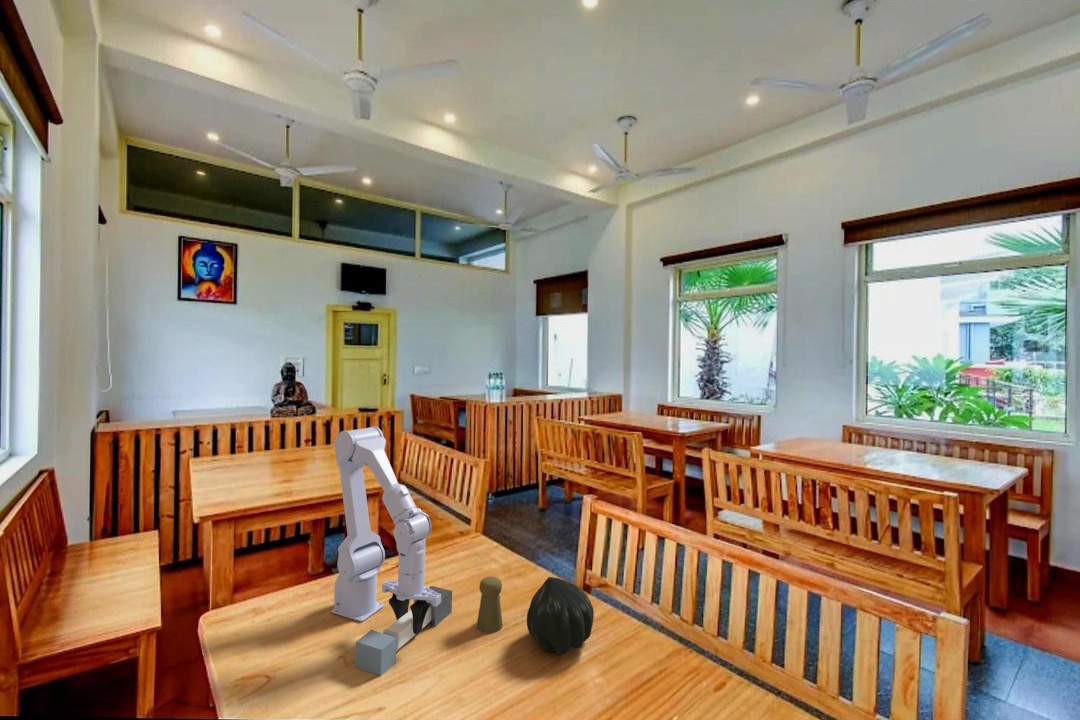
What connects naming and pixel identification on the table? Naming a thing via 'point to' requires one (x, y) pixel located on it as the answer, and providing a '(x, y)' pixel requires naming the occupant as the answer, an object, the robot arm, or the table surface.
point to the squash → (560, 616)
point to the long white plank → (406, 627)
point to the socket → (376, 652)
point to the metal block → (441, 606)
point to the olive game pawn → (490, 605)
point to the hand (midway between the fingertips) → (410, 629)
